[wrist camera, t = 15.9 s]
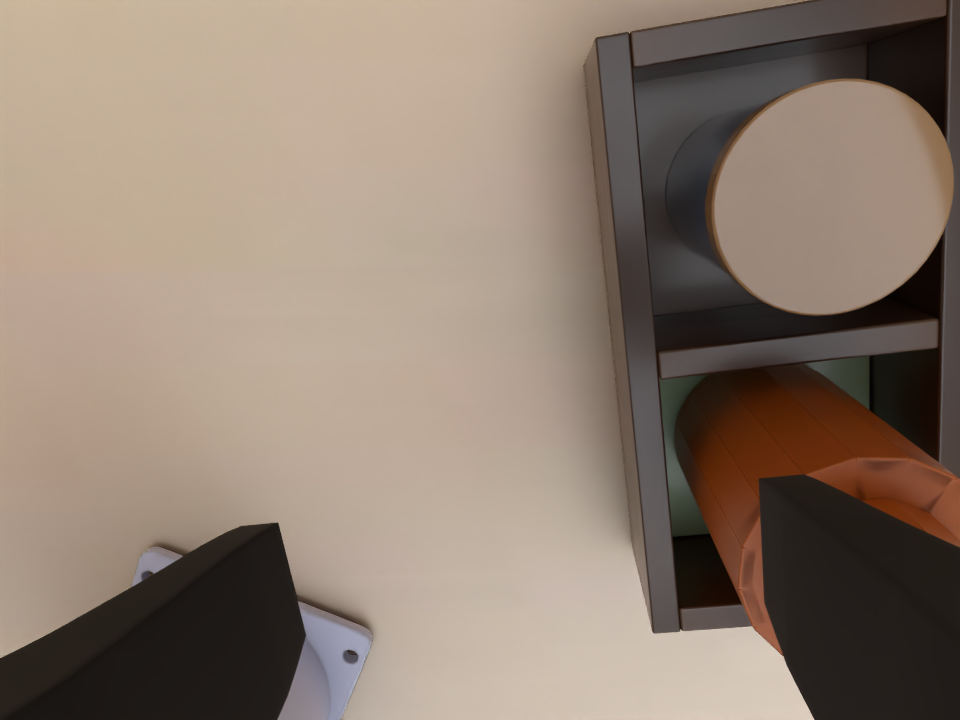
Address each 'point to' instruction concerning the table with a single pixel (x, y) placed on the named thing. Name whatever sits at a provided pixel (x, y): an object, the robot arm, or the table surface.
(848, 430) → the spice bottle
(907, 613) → the robot arm
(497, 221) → the table surface
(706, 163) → the blue jar
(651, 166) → the divided storage box
